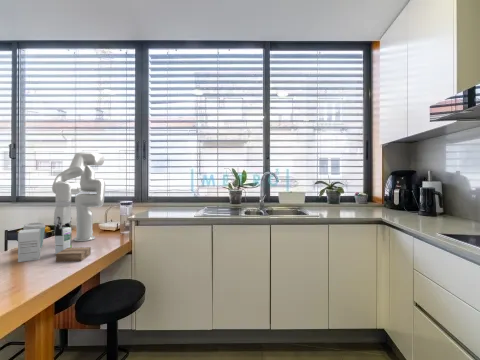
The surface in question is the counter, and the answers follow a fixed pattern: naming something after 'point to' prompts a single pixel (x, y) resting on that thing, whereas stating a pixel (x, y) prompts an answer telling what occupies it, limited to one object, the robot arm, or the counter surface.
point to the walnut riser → (73, 254)
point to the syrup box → (63, 240)
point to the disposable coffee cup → (36, 226)
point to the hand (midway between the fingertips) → (62, 234)
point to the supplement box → (28, 245)
